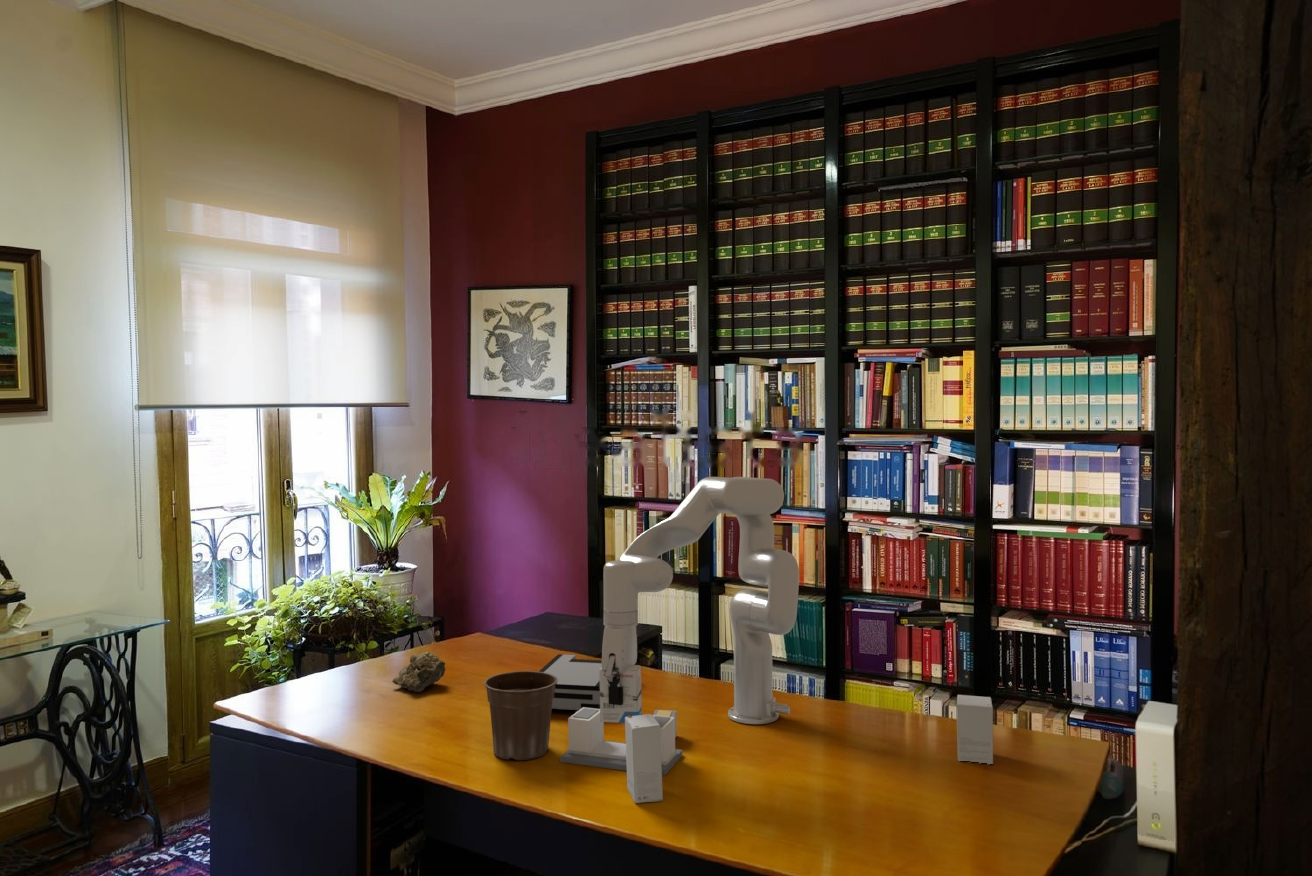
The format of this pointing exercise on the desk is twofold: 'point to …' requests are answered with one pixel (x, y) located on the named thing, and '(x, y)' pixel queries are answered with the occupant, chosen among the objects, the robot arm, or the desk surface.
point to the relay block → (670, 714)
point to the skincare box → (643, 758)
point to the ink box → (630, 696)
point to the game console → (575, 682)
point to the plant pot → (520, 713)
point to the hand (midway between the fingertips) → (621, 699)
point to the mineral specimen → (420, 672)
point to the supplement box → (975, 729)
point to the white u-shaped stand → (611, 742)
